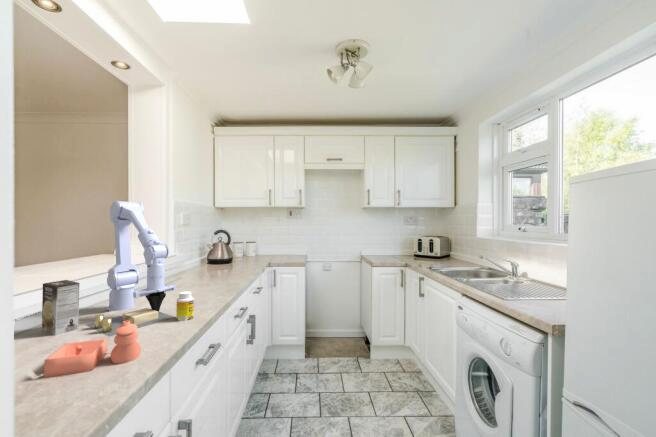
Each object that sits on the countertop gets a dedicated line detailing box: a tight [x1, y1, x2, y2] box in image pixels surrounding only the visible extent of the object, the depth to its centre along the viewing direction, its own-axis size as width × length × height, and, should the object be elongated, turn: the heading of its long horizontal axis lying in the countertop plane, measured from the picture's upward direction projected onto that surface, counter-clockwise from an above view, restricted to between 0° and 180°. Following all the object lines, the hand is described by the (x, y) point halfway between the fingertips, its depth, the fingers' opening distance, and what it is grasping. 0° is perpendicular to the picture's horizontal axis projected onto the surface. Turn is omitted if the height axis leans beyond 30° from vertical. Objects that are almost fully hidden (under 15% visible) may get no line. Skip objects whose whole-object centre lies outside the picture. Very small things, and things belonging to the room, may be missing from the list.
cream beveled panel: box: [122, 307, 158, 325], centre depth 103 cm, size 8×8×2 cm
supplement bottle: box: [175, 290, 195, 322], centre depth 105 cm, size 6×6×10 cm
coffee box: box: [41, 279, 80, 336], centre depth 93 cm, size 9×6×16 cm
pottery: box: [43, 320, 142, 378], centre depth 74 cm, size 18×10×10 cm, turn 110°
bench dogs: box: [93, 314, 113, 334], centre depth 94 cm, size 8×2×4 cm, turn 58°
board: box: [86, 311, 176, 337], centre depth 102 cm, size 18×21×1 cm
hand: (155, 312), depth 108 cm, fingers closed
